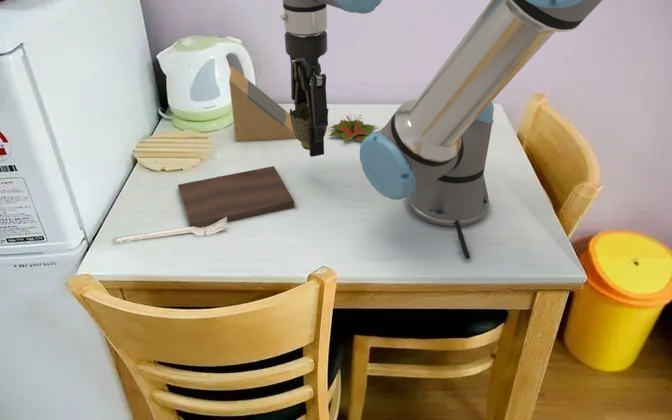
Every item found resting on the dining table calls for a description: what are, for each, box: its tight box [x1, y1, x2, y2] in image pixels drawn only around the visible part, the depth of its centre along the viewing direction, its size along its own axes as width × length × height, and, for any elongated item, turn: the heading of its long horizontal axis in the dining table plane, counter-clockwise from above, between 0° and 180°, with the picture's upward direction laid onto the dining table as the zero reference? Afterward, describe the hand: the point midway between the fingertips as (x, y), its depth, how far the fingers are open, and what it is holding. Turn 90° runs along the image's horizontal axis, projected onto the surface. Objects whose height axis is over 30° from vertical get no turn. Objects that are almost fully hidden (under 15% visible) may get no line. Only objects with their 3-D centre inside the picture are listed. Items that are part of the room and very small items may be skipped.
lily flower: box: [328, 114, 376, 143], centre depth 139 cm, size 12×12×5 cm
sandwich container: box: [228, 66, 297, 142], centre depth 137 cm, size 9×15×15 cm, turn 95°
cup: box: [288, 103, 329, 151], centre depth 116 cm, size 8×7×8 cm
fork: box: [115, 217, 229, 244], centre depth 108 cm, size 3×20×2 cm, turn 103°
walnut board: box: [177, 165, 295, 228], centre depth 117 cm, size 14×20×2 cm
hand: (310, 145), depth 118 cm, fingers closed on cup, 7 cm apart
